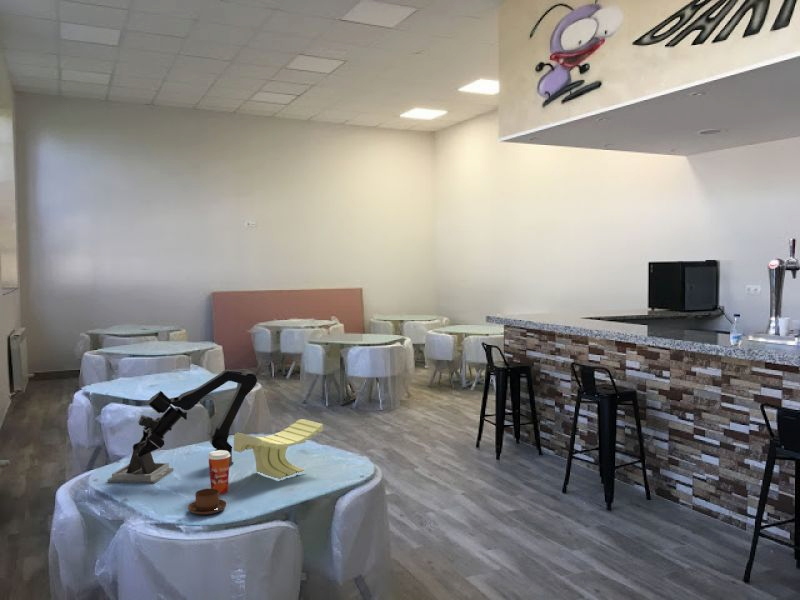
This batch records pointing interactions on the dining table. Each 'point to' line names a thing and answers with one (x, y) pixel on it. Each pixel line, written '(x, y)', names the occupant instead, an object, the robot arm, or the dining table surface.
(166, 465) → the square tray
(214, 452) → the paper cup
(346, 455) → the dining table surface
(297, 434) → the slatted curved stool
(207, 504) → the cup and saucer
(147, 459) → the phone stand
